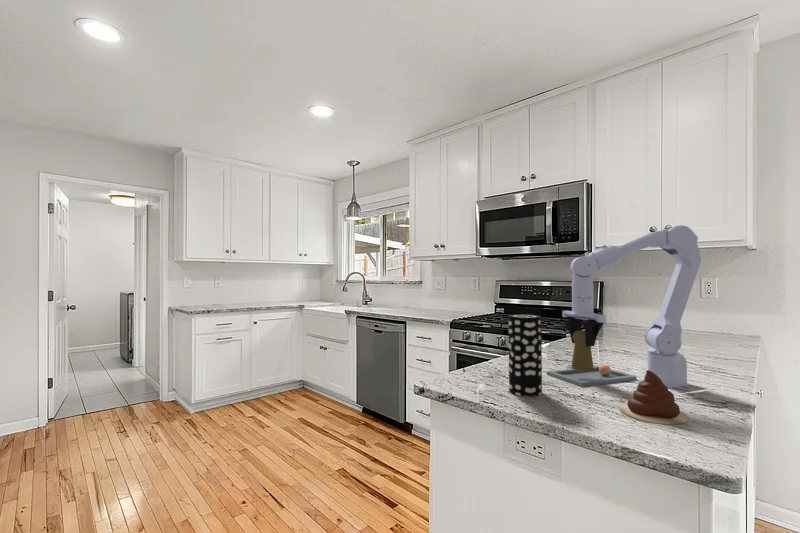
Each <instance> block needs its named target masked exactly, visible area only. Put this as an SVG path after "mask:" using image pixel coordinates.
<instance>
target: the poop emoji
mask: <svg viewBox="0 0 800 533" xmlns="http://www.w3.org/2000/svg"><path fill="white" fill-rule="evenodd" d="M643 378H644V379H642V380H643V381H640V382H639V383H638V384H637V386H636V388H635V390H634V391H633V394H632V397H629V399H628V400H627V403H626V404H627V405H628V408H629V409H630V410H631V411H632V412H634V413H636V414H639V415H644V416H653V415H658V416H661V417H665V418H674V417H677V416H678V415H679V413H680V412H681V409H680V406H679V404H677V403H676V402H675V401H676V400H675V395H674V393H673V392H672V391H671V390H669V388H667V386H666V385H664V384H663V382H662V380H661V379H660V378H659V377H658V376H657V375H656V374H655V373H653V372H651V371H649V370H648V369H646V373H645V375H644V377H643Z"/></svg>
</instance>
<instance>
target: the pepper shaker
mask: <svg viewBox="0 0 800 533" xmlns="http://www.w3.org/2000/svg"><path fill="white" fill-rule="evenodd" d="M573 340H574V341H575V343H573V344H574V345H573V352H572V359H571V366H570V369H575V370H580V371H593V370H594V367H593V366H594V362H593V361H594V360H593V355H592V346H590V347H589V346H587V344H586V333H585V330H583V329H582V330H580V331H575V332H574V333H573Z"/></svg>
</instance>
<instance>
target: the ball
mask: <svg viewBox="0 0 800 533" xmlns="http://www.w3.org/2000/svg"><path fill="white" fill-rule="evenodd" d="M599 366H600V367H599V372H600V373H601V374H602V375H604V376H607V375H609V374H610V372H611V367H610V366H609V365H608V364H601V365H599Z"/></svg>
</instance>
